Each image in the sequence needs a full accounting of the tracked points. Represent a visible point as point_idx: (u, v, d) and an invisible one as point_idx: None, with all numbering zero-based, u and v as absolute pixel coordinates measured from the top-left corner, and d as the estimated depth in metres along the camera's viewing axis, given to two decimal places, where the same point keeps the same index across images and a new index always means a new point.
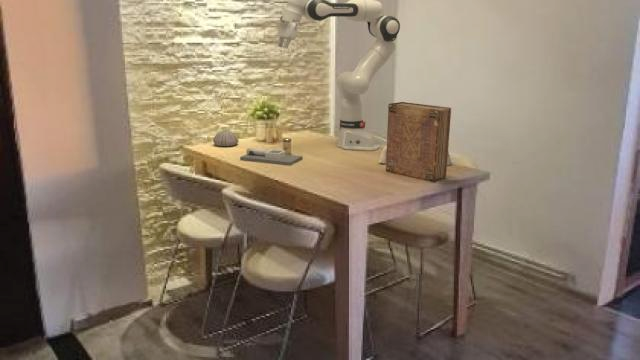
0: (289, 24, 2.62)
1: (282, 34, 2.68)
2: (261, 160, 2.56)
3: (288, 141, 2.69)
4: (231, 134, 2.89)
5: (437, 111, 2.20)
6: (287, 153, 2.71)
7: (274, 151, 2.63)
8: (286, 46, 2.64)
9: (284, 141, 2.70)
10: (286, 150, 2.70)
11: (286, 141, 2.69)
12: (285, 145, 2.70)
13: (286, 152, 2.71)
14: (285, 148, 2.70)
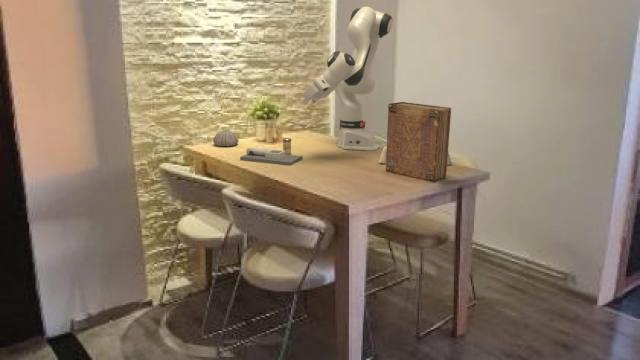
0: None
1: (317, 97, 2.58)
2: (261, 160, 2.56)
3: (288, 141, 2.69)
4: (231, 134, 2.89)
5: (437, 111, 2.20)
6: (287, 153, 2.71)
7: (274, 151, 2.63)
8: None
9: (284, 141, 2.70)
10: (286, 150, 2.70)
11: (286, 141, 2.69)
12: (285, 145, 2.70)
13: (286, 152, 2.71)
14: (285, 148, 2.70)
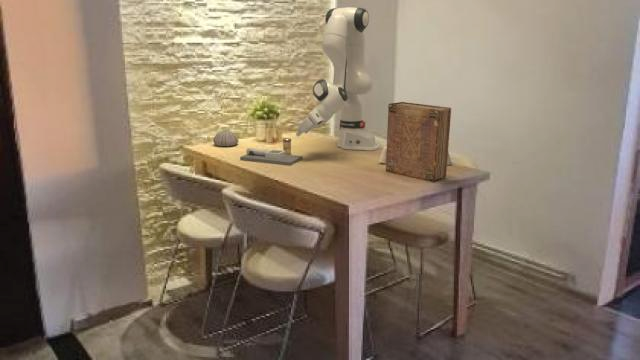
0: None
1: (311, 129, 2.64)
2: (261, 160, 2.56)
3: (288, 141, 2.69)
4: (231, 134, 2.89)
5: (437, 111, 2.20)
6: (287, 153, 2.71)
7: (274, 151, 2.63)
8: None
9: (284, 141, 2.70)
10: (286, 150, 2.70)
11: (286, 141, 2.69)
12: (285, 145, 2.70)
13: (286, 152, 2.71)
14: (285, 148, 2.70)
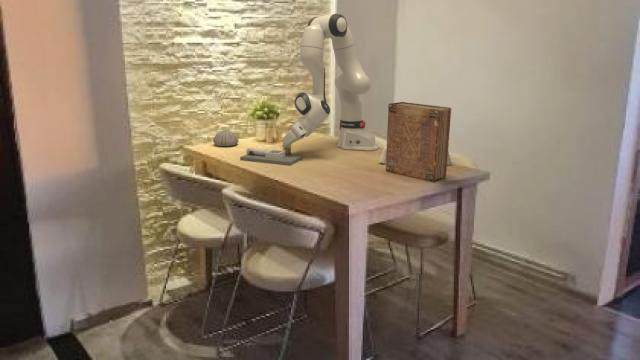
0: None
1: (295, 141, 2.69)
2: (261, 160, 2.56)
3: None
4: (231, 134, 2.89)
5: (437, 111, 2.20)
6: (287, 153, 2.71)
7: (274, 151, 2.63)
8: None
9: None
10: (286, 150, 2.70)
11: None
12: None
13: (286, 152, 2.71)
14: (285, 148, 2.70)
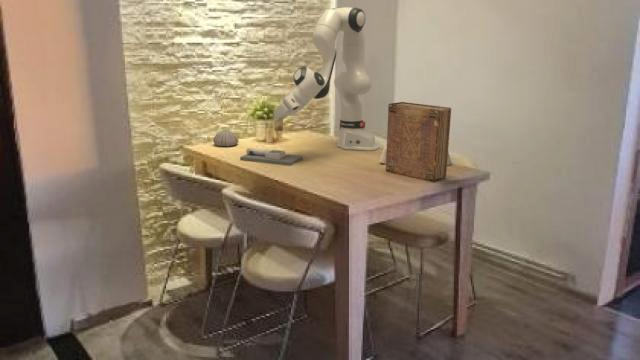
0: None
1: (287, 115, 2.58)
2: (261, 160, 2.56)
3: None
4: (231, 134, 2.89)
5: (437, 111, 2.20)
6: (279, 128, 2.60)
7: (274, 151, 2.63)
8: None
9: None
10: (278, 125, 2.60)
11: None
12: None
13: (278, 127, 2.60)
14: (277, 123, 2.60)
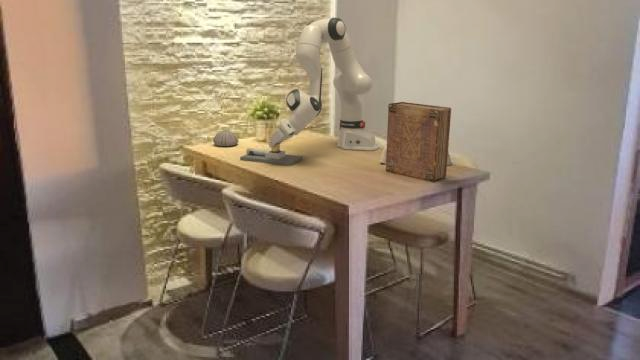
0: None
1: (283, 140, 2.56)
2: (261, 160, 2.56)
3: (277, 143, 2.57)
4: (231, 134, 2.89)
5: (437, 111, 2.20)
6: None
7: None
8: None
9: None
10: (274, 152, 2.58)
11: None
12: (273, 147, 2.58)
13: None
14: (273, 150, 2.58)
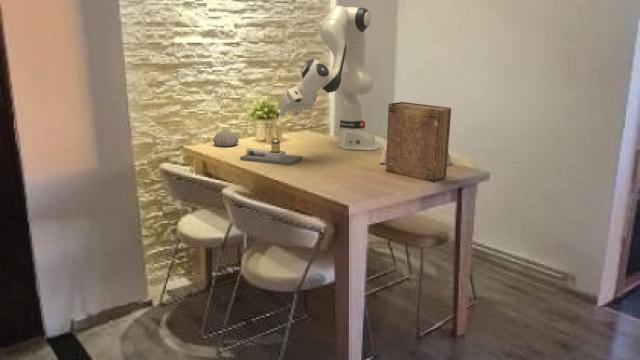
0: (310, 101, 2.55)
1: (295, 109, 2.53)
2: (261, 160, 2.56)
3: (276, 143, 2.57)
4: (231, 134, 2.89)
5: (437, 111, 2.20)
6: None
7: None
8: None
9: (272, 143, 2.57)
10: (274, 152, 2.58)
11: (274, 143, 2.57)
12: (273, 147, 2.58)
13: None
14: (273, 150, 2.58)
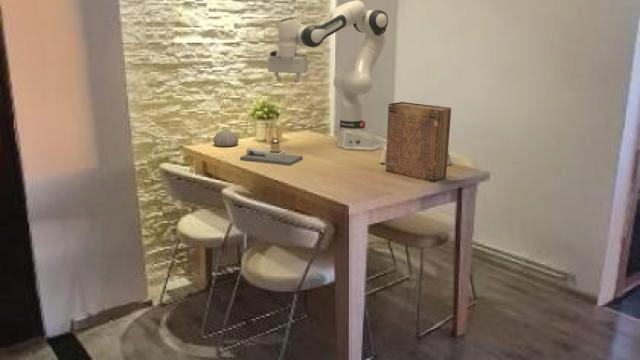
0: (296, 59, 2.62)
1: (284, 70, 2.66)
2: (261, 160, 2.56)
3: (276, 143, 2.57)
4: (231, 134, 2.89)
5: (437, 111, 2.20)
6: None
7: None
8: (297, 80, 2.67)
9: (272, 143, 2.58)
10: (274, 152, 2.58)
11: (274, 143, 2.57)
12: (273, 147, 2.58)
13: None
14: (273, 150, 2.58)
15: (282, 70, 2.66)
